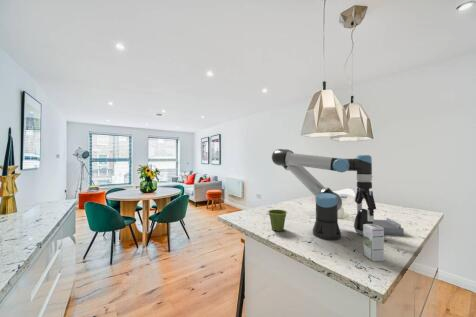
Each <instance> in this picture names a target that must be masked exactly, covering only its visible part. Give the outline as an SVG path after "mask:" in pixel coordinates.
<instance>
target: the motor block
mask: <svg viewBox="0 0 476 317" xmlns="http://www.w3.org/2000/svg"><path fill="white" fill-rule="evenodd" d="M373 223H374V224H375V225H377V226H380V227H382V228H384V236H385V235H387V236H388V235H389V236H403V237H404V235H405V234H404V230H405V228H404V227H402V224H401V223H399V222H396V221H394V220H392V219H390V218H388V217H387V218H386V219H374V221H373Z"/></svg>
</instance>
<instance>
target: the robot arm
mask: <svg viewBox="0 0 476 317" xmlns="http://www.w3.org/2000/svg"><path fill="white" fill-rule="evenodd" d="M372 160H373V158H372V156H371V155H369V154H357V155H356V158H342V157H341V158H340V157H330V156H329V157H328V156H323V155H321V156H319V155H313V154H312V155H311V154H304V153H303V154H302V153H294V152H293V151H292V150H290V149H282V148H279V149H275V150H274V151H273V152H272V154H271V161H272V162H273V164H274V165H277V166H278V167H279V166H281V167H283V169H284V170H286V171H289V172H291V173H292V175H294V176H295V178H296V179H298V181H299V182H300V183H302V184H303V185H304V187H305V188H307V189H308V191H309V192H310V193H311V194H312V195H313V196H314V199H315V221H314V224H313V228H312V235H313V236H315V237H316V238H320V239H323V240H326V241H327V240H329V241H338V240H340V239H342V232H341V229H340V227H339V222H338V217H339V213H338V211H339V210H340V209H341V208H342V204H343V199H342V197H341V196H340V195H339V194H338V193H336V192H334V191H333V190H332V189H331V188H329V187H326V186H324V184H322V183H321V182H320V181H319V180H318V179H317V178H316V177H315V176H314V175H313V174H312V173H310V171H308V170H307V169H306V168H310V169H311V168H313V169H319V170H327V171H333V172H337V173H346V172H356V187H357V188H356V193H355V198H354V202H355V203H356V214H357V213H358V211H359V210H360V209H363V200H365V204H366V205H367V210H368V221H374V218H375V216H374V214H375V210H377V206H376V203H375V198H374V193H373V191H371V190H370V189H372V188H373V182H372V181H373V161H372Z"/></svg>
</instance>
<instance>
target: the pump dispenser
mask: <svg viewBox="0 0 476 317" xmlns="http://www.w3.org/2000/svg"><path fill="white" fill-rule="evenodd" d="M353 221H354V222H353V228H354V230H355V232H356V233H357V234H358V235H360V236H362V237H363V224H374V223H373V221H368V209H367V208H362V209H360V210H359V211H358V213H357V212H356V215H355V218H354V220H353Z"/></svg>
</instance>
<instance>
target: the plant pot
mask: <svg viewBox="0 0 476 317" xmlns="http://www.w3.org/2000/svg"><path fill="white" fill-rule="evenodd" d="M267 212H268V215H269V218H270V219H269V220H270V225H271V226H270V227H271V230H272V231H274V230H276V231H275V232H283V231H284V229H285V223H286V217H287V214H288V212H287V210H284V209H269V210H268V211H267Z"/></svg>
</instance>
